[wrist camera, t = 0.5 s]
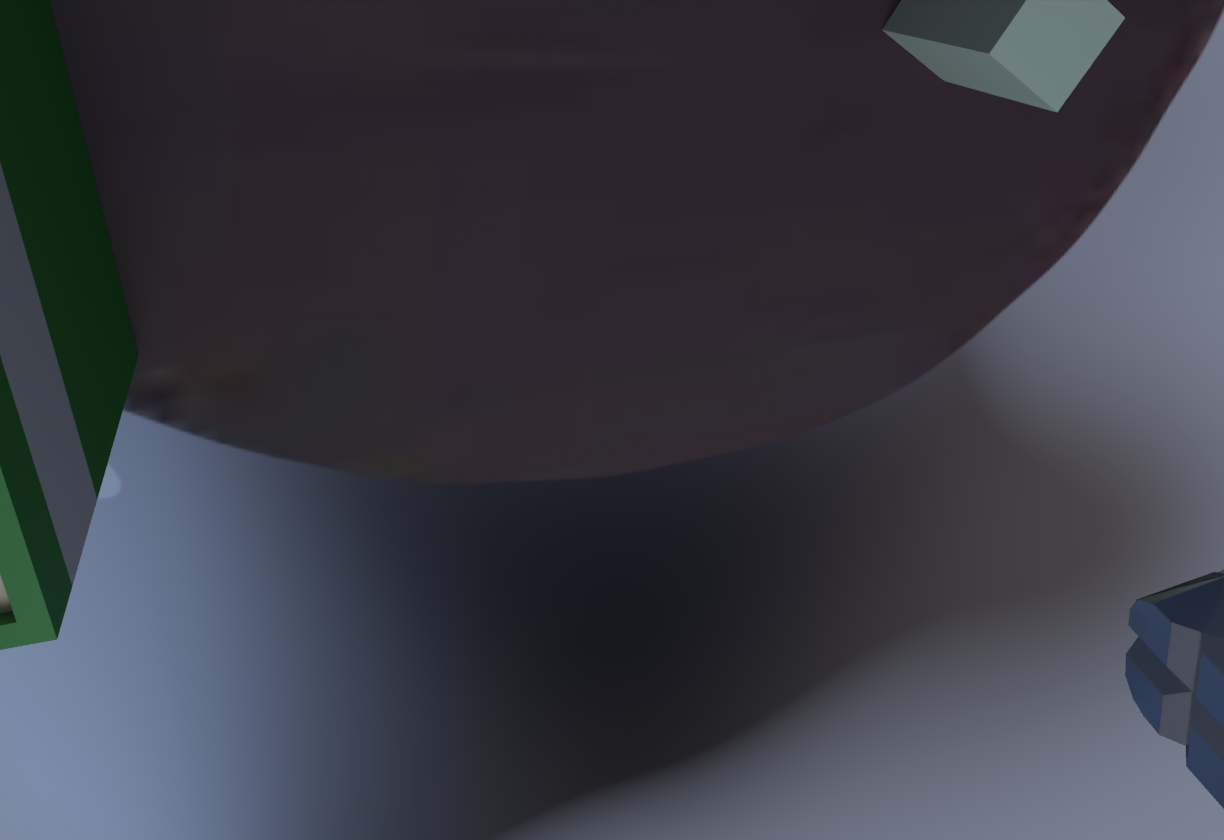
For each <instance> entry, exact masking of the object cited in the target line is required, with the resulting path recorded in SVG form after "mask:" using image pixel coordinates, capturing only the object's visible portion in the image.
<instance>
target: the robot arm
mask: <svg viewBox="0 0 1224 840" xmlns="http://www.w3.org/2000/svg"><path fill="white" fill-rule="evenodd" d="M1128 625H1129V626H1130V627H1131V629H1132V630H1133V631H1134V632H1135V633H1136V634H1137V635H1138V636H1139V637H1138V638H1137V639H1136V641H1135V642H1134V644H1133V645H1132V646H1131V648H1130V649H1129V651H1128V652H1127V653H1126V672H1125V676H1126V679H1127V682H1128V685H1129V688H1130V691H1131V694H1132V697H1133V699H1134V701H1135V702H1136V704H1137V706H1138V707H1139V709H1140V711H1141V713H1142V714H1143V716H1144V717H1145V718H1146V719H1147V721H1148V722H1149V723H1150V724H1151V725H1152V727H1153V728H1154V729H1155V730H1156V731H1157V733H1158V734H1159V735H1162V736H1164V737H1166V738H1169V739H1171V740H1174V741H1176V742H1178V743H1180V744H1183V745H1186V766H1187V767H1188V769H1189V770H1190V771H1191V772H1192V773H1193V774H1194V775H1195V777H1196V778H1197V779H1198V780H1199V781H1200V782H1201V783H1202V784H1203V786H1204V787H1205V788H1206V789H1207V790H1208V791H1209V792H1210V794H1211V795H1212V796H1213V797H1214V798H1215V799H1216V800H1217V801H1218V802H1219V804H1220V805H1221V806H1222V807H1223V808H1224V570H1222V571H1220V572H1213V573H1210V574H1208V575H1205V576H1202V577H1199V578H1196V579H1194V580H1190V581H1188V582H1185V583H1182V584H1179V585H1176V586H1174V587H1171V588H1168V589H1165V590H1162V591H1160V592H1157V593H1154V594H1151V595H1148V596H1145V597H1143V598H1140V599H1137V600H1136V601H1135V603H1134V604H1133V606H1132V607H1131V608H1130V615H1129V624H1128Z"/></svg>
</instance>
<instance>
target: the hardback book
mask: <svg viewBox="0 0 1224 840" xmlns="http://www.w3.org/2000/svg"><path fill="white" fill-rule="evenodd" d="M138 355H139V354H138V350H137V346H136V342H135V338H134V334H133V331H132V327H131V323H130V319H129V315H128V311H127V307H126V303H125V299H124V295H123V291H122V287H121V283H120V279H119V275H118V271H117V267H116V263H115V259H114V255H113V251H112V247H111V243H110V239H109V235H108V231H107V227H106V223H105V219H104V215H103V211H102V207H101V203H100V199H99V195H98V191H97V187H96V183H95V179H94V175H93V171H92V167H91V163H90V159H89V155H88V151H87V147H86V143H85V139H84V135H83V131H82V127H81V123H80V119H79V115H78V111H77V107H76V103H75V99H74V95H73V91H72V87H71V83H70V80H69V76H68V72H67V68H66V64H65V60H64V56H63V52H62V48H61V44H60V40H59V36H58V32H57V28H56V24H55V20H54V16H53V12H52V8H51V4H50V0H0V650H2V649H7V648H12V647H17V646H23V645H29V644H34V643H40V642H45V641H50V640H56V639H57V637H58V634H59V630H60V627H61V624H62V620H63V617H64V613H65V610H66V606H67V603H68V599H69V596H70V592H71V589H72V585H73V581H74V578H75V575H76V571H77V567H78V564H79V561H80V557H81V554H82V550H83V546H84V543H85V540H86V536H87V533H88V529H89V525H90V522H91V519H92V515H93V512H94V508H95V505H96V501H97V498H98V494H99V491H100V487H101V484H102V481H103V477H104V474H105V470H106V467H107V463H108V460H109V456H110V452H111V448H112V446H113V442H114V438H115V435H116V431H117V428H118V424H119V421H120V418H121V414H122V411H123V407H124V404H125V400H126V397H127V393H128V390H129V386H130V383H131V379H132V376H133V372H134V369H135V365H136V362H137V358H138Z"/></svg>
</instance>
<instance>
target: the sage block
mask: <svg viewBox="0 0 1224 840" xmlns="http://www.w3.org/2000/svg"><path fill="white" fill-rule="evenodd" d="M1124 19H1125V17H1124V16H1123V15H1122V14H1121V13H1120V12H1119V11H1118V10H1117V9H1116V8H1114V7H1113V6H1112V5H1111V4H1110V3H1109V2H1108V1H1107V0H901V2H900V3H899V5H898V6H897V8H896V9H895V11H894V12H893V14H892V15H891V17H890V18H889V20H888V21H887V23H886V24H885V26H884V27H883V29H882V30H883V31H884V32H885V33H886V34H888V35H889V36H890V37H891V38H893V39H894V40H895V41H896V42H897V43H899V44H900V45H901V46H902V47H904V48H905V49H906V50H907V51H908V52H910V53H911V54H912V55H913V56H914V57H916V58H917V59H918V60H919V61H921V62H922V63H923V64H924V65H925V66H927V67H928V68H929V69H930V70H932V71H933V72H934V73H935V74H936V75H938V76H939V77H940V78H941V79H942V80H944V81H947V82H950V83H954V84H957V85H961V86H965V87H968V88H972V89H975V90H979V91H982V92H986V93H990V94H993V95H997V96H1000V97H1004V98H1008V99H1011V100H1015V101H1018V102H1022V103H1025V104H1029V105H1033V106H1036V107H1040V108H1043V109H1047V110H1051V111H1054V112H1058V111H1059V109H1060V108H1061V106H1062V105H1063V104H1064V102H1065V101H1066V99H1067V98H1068V97H1069V95H1070V94H1071V92H1072V91H1073V90H1074V88H1075V87H1076V85H1077V84H1078V83H1079V81H1080V80H1081V78H1082V77H1083V76H1084V74H1085V73H1086V72H1087V70H1088V69H1089V67H1090V66H1091V65H1092V63H1093V62H1094V60H1095V59H1096V58H1097V56H1098V55H1099V53H1100V52H1101V51H1102V49H1103V48H1104V46H1105V45H1106V44H1107V42H1108V41H1109V40H1110V38H1111V37H1112V35H1113V34H1114V33H1115V31H1116V30H1117V28H1118V27H1119V26H1120V24H1121V23H1122V21H1123V20H1124Z"/></svg>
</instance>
